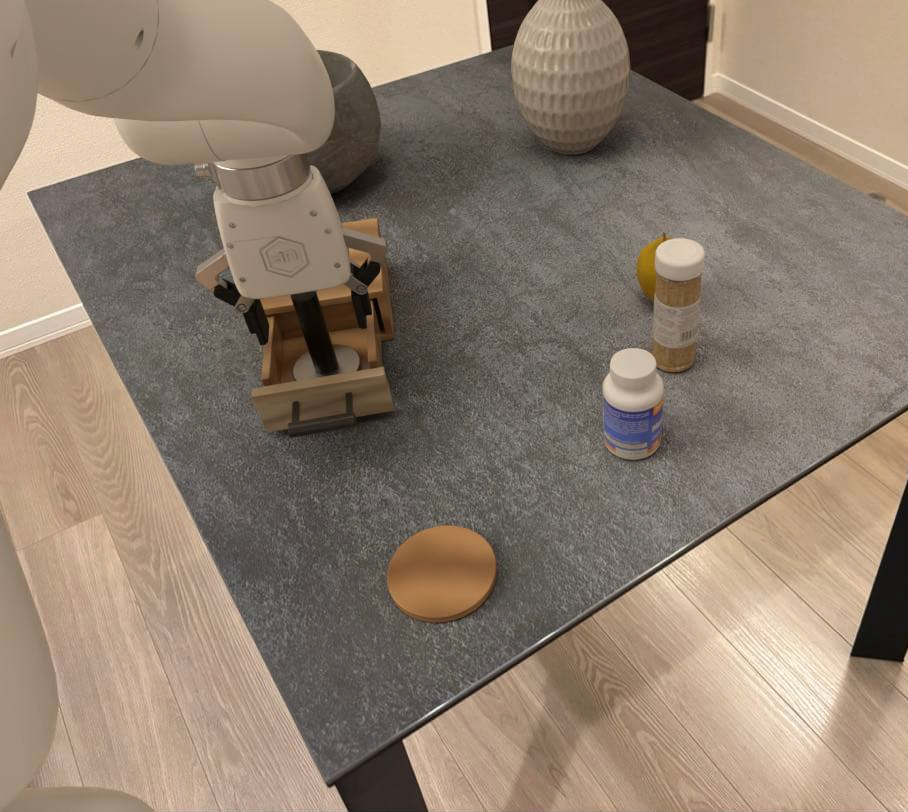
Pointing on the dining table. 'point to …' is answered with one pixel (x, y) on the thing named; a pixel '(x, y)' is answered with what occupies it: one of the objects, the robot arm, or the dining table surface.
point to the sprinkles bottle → (677, 303)
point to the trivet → (442, 573)
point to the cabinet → (343, 294)
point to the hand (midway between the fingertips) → (314, 328)
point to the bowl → (347, 124)
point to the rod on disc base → (319, 343)
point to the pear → (649, 267)
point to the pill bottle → (633, 405)
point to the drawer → (323, 397)
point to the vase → (570, 73)
